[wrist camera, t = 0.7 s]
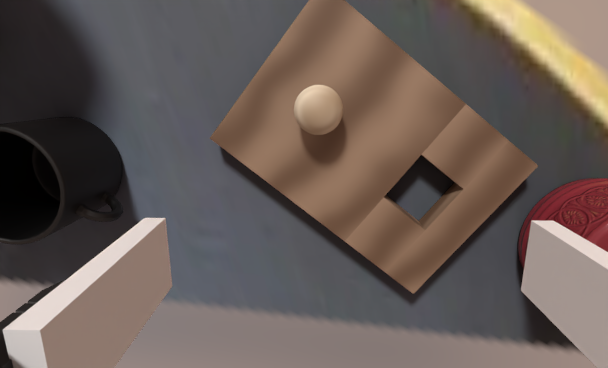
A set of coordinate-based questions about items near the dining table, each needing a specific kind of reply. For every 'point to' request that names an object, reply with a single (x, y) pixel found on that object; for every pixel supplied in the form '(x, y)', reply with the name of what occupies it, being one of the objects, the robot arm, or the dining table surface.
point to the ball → (318, 109)
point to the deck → (370, 142)
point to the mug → (55, 177)
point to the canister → (572, 212)
